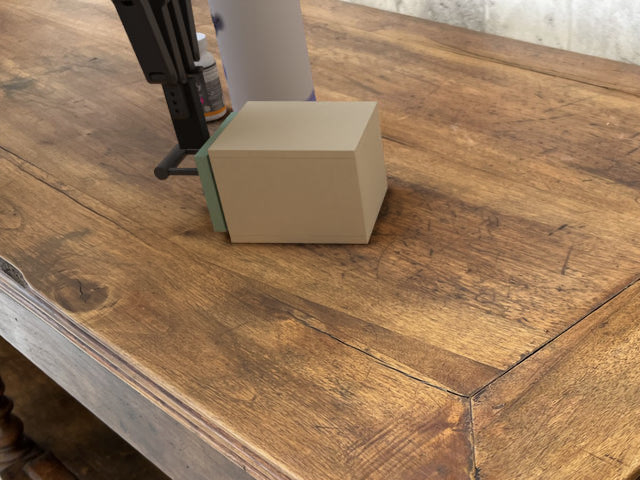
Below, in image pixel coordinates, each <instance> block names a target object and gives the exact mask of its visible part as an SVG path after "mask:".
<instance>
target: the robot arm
mask: <svg viewBox="0 0 640 480" xmlns="http://www.w3.org/2000/svg"><path fill="white" fill-rule="evenodd" d="M110 1H111V3H112V5H113V6H114V8H115V10H116V13H117V16H118V18H119V20H120V22H121V25H122V27H123V29H124V31H125V34H126V36H127V38H128V41H129V44H130V45H131V48H132V50H133V52H134V54H135V57H136V59H137V62H138V64H139V67H140V69H141V71H142V73H143V76H144V78H145V80H146V82H147V83H148V84H150V85H161V87H162V88H161V89H162V92H163V96H164V99H165V102H166V106H167V109H168V112H169V116H170V118H171V122H172V126H173V129H174V133H175V135H176V140H177V144H179V147H180V149H201V148H202V146H203V145H204V144H205V143H206V142H207V141H208V139H209V138H210V137H211V134H210V131H209V126H208V123H207V121H206V119H205V115H204V111H203V108H202V104H201V100H200V96H199V92H198V89H197V85H196V81H195V77H193V76H192V75H202V74H203V66H195V64H194V62H199V61H200V53H199V47H198V40H197V34H196V32H197V29H196V23H195V16H194V12H193V4H192V0H110Z"/></svg>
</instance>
